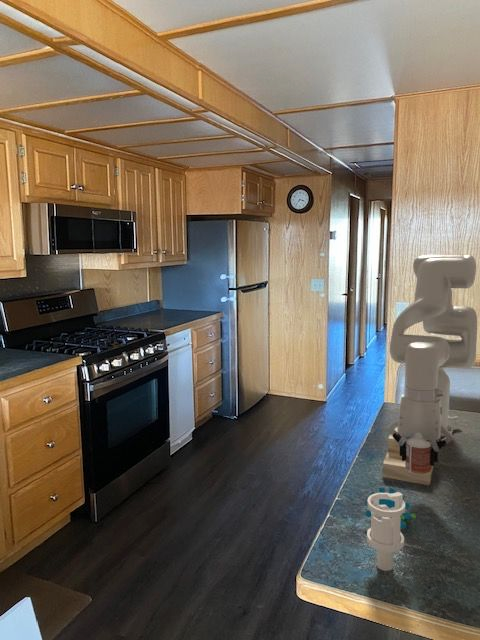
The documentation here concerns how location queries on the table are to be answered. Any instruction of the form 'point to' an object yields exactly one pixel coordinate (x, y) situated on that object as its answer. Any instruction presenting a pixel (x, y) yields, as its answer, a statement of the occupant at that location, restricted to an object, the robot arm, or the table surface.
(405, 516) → the gear
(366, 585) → the table surface
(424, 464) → the pill bottle
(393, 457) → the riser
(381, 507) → the white flanged pipe fitting
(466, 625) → the table surface
